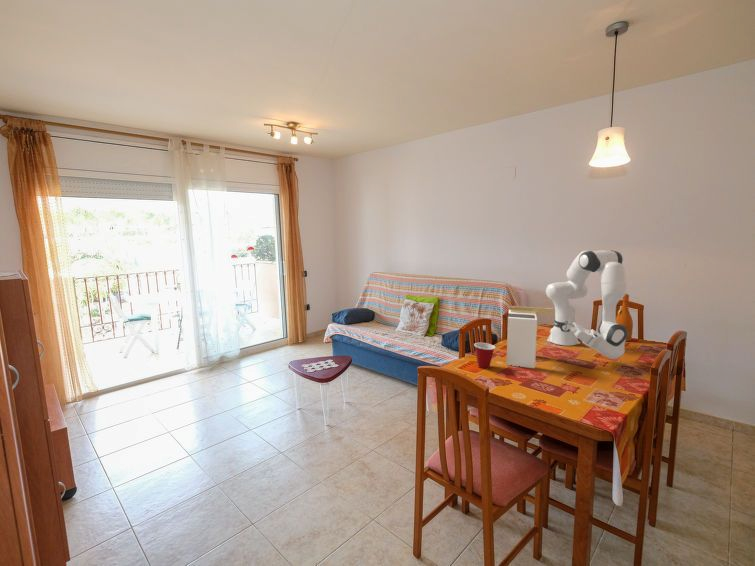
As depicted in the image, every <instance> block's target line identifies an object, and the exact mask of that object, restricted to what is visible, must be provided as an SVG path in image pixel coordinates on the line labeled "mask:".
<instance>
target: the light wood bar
mask: <svg viewBox="0 0 755 566" xmlns="http://www.w3.org/2000/svg"><path fill="white" fill-rule="evenodd" d="M510 310H511V312H518V313H534V314H536V315H539V314H540V315H550V316H551V315H552V316H554V315H555V307H543V306H542V307H541V306H540V307H539V306H537V307H536V306H521V305H520V306H519V305H518V306H517V305H510Z"/></svg>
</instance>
